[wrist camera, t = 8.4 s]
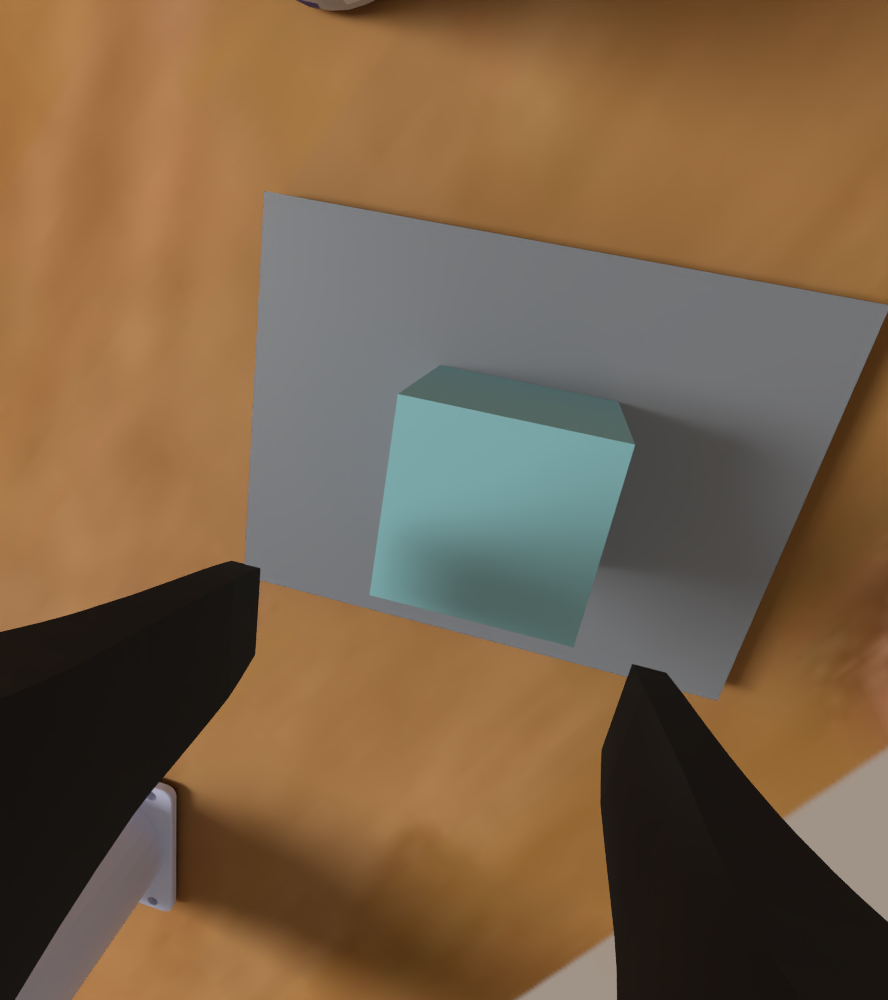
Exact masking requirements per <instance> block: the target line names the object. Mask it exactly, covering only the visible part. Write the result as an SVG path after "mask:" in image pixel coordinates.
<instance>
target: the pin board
mask: <svg viewBox="0 0 888 1000" xmlns="http://www.w3.org/2000/svg"><path fill="white" fill-rule="evenodd" d="M887 312H888V305H885V304H880V303H874V302H869V301H863V300H858V299H852V298H847V297H841V296H836V295H830V294H825V293H819V292H814V291H808V290H803V289H797V288H792V287H786V286H781V285H775V284H770V283H765V282H759V281H754V280H748V279H743V278H737V277H732V276H726V275H721V274H715V273H710V272H704V271H699V270H693V269H688V268H682V267H677V266H671V265H666V264H660V263H655V262H649V261H644V260H638V259H633V258H628V257H622V256H617V255H611V254H606V253H600V252H595V251H589V250H584V249H578V248H573V247H567V246H562V245H556V244H551V243H545V242H540V241H534V240H529V239H523V238H518V237H512V236H507V235H502V234H496V233H491V232H485V231H480V230H474V229H469V228H463V227H458V226H452V225H447V224H441V223H436V222H430V221H425V220H419V219H414V218H408V217H403V216H397V215H392V214H386V213H381V212H376V211H370V210H365V209H359V208H354V207H348V206H343V205H337V204H332V203H326V202H321V201H315V200H310V199H304V198H299V197H293V196H288V195H282V194H277V193H271V192H266V191H264V207H263V226H262V245H261V264H260V283H259V302H258V321H257V340H256V359H255V378H254V397H253V416H252V434H251V453H250V472H249V491H248V510H247V529H246V548H245V564H246V565H250V566H254V567H258V568H260V580H262V581H265V582H269V583H273V584H277V585H280V586H284V587H288V588H292V589H296V590H299V591H303V592H307V593H311V594H315V595H318V596H322V597H326V598H330V599H334V600H337V601H341V602H345V603H349V604H352V605H356V606H360V607H364V608H368V609H371V610H375V611H379V612H383V613H387V614H390V615H394V616H398V617H402V618H406V619H409V620H413V621H417V622H421V623H424V624H428V625H432V626H436V627H440V628H443V629H447V630H451V631H455V632H459V633H462V634H466V635H470V636H474V637H478V638H481V639H485V640H489V641H493V642H497V643H500V644H504V645H508V646H512V647H515V648H519V649H523V650H527V651H531V652H534V653H538V654H542V655H546V656H550V657H553V658H557V659H561V660H565V661H569V662H572V663H576V664H580V665H584V666H587V667H591V668H595V669H599V670H603V671H606V672H610V673H614V674H618V675H622V676H625V677H628V674H629V671H630V668H631V666H632V664H635V665H639V666H643V667H646V668H650V669H654V670H658V671H662V672H666V673H667V674H668V675H669V677H670V678H671V679H672V680H673V682H674V683H675V684H676V686H677V687H678V688H679V690H680V691H682V692H686V693H690V694H694V695H697V696H701V697H705V698H709V699H713V700H716V701H717V700H718V698H719V696H720V693H721V691H722V689H723V686H724V684H725V682H726V680H727V677H728V675H729V673H730V670H731V668H732V666H733V664H734V661H735V659H736V657H737V654H738V652H739V650H740V648H741V645H742V643H743V641H744V639H745V636H746V634H747V632H748V629H749V627H750V625H751V623H752V620H753V618H754V616H755V613H756V611H757V609H758V607H759V604H760V602H761V600H762V597H763V595H764V593H765V591H766V588H767V586H768V584H769V581H770V579H771V577H772V575H773V572H774V570H775V568H776V565H777V563H778V561H779V559H780V556H781V554H782V552H783V549H784V547H785V545H786V543H787V540H788V538H789V536H790V534H791V531H792V529H793V527H794V524H795V522H796V520H797V518H798V515H799V513H800V511H801V508H802V506H803V504H804V502H805V499H806V497H807V495H808V492H809V490H810V488H811V486H812V483H813V481H814V479H815V476H816V474H817V472H818V470H819V467H820V465H821V463H822V460H823V458H824V456H825V454H826V451H827V449H828V447H829V444H830V442H831V440H832V438H833V435H834V433H835V431H836V428H837V426H838V424H839V422H840V419H841V417H842V415H843V413H844V410H845V408H846V406H847V403H848V401H849V399H850V397H851V394H852V392H853V390H854V387H855V385H856V383H857V381H858V378H859V376H860V374H861V371H862V369H863V367H864V365H865V362H866V360H867V358H868V355H869V353H870V351H871V349H872V346H873V344H874V342H875V339H876V337H877V335H878V333H879V330H880V328H881V326H882V323H883V321H884V319H885V317H886V314H887ZM439 365H443V366H448V367H452V368H457V369H462V370H467V371H472V372H477V373H482V374H486V375H491V376H496V377H501V378H506V379H511V380H516V381H520V382H525V383H530V384H535V385H540V386H545V387H550V388H554V389H559V390H564V391H569V392H574V393H579V394H584V395H588V396H593V397H598V398H603V399H608V400H613V401H618V402H619V405H620V407H621V410H622V412H623V415H624V417H625V420H626V423H627V425H628V428H629V430H630V433H631V435H632V438H633V440H634V443H635V447H634V450H633V453H632V457H631V460H630V463H629V467H628V470H627V473H626V477H625V480H624V483H623V486H622V490H621V493H620V496H619V500H618V503H617V506H616V510H615V513H614V516H613V519H612V523H611V526H610V529H609V533H608V536H607V539H606V542H605V546H604V549H603V552H602V556H601V559H600V562H599V566H598V569H597V572H596V575H595V579H594V582H593V585H592V589H591V592H590V595H589V599H588V602H587V605H586V608H585V612H584V615H583V618H582V622H581V625H580V628H579V632H578V635H577V638H576V641H575V645H574V647H570V646H566V645H562V644H558V643H554V642H550V641H546V640H542V639H539V638H535V637H531V636H527V635H523V634H519V633H515V632H511V631H507V630H504V629H500V628H496V627H492V626H488V625H484V624H480V623H476V622H472V621H468V620H465V619H461V618H457V617H453V616H449V615H445V614H441V613H437V612H433V611H429V610H426V609H422V608H418V607H414V606H410V605H406V604H402V603H398V602H394V601H391V600H387V599H383V598H379V597H375V596H371V595H370V588H371V581H372V574H373V567H374V560H375V553H376V545H377V538H378V531H379V524H380V517H381V510H382V503H383V496H384V489H385V482H386V474H387V467H388V460H389V453H390V446H391V439H392V432H393V425H394V418H395V411H396V403H397V396H398V393H400V392H401V391H403V390H404V389H406V388H407V387H409V386H410V385H412V384H413V383H414V382H416V381H417V380H419V379H420V378H422V377H423V376H425V375H426V374H428V373H429V372H430V371H432V370H433V369H435V368H436V367H438V366H439Z"/></svg>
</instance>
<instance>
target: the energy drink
mask: <svg viewBox="0 0 888 1000" xmlns="http://www.w3.org/2000/svg"><path fill="white" fill-rule="evenodd" d="M296 1H298V2H301V3H303V4H305V5H307V6H309V7H313V8H318V9H323V10H328V11H335V10H350V9H353V8H356V7H360V6H363V5H366V4H369V3H371V2H373V1H374V0H296Z"/></svg>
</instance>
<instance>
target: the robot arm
mask: <svg viewBox="0 0 888 1000" xmlns="http://www.w3.org/2000/svg"><path fill="white" fill-rule="evenodd" d="M259 584H260V568H258V567H254V566H250V565H246V564H242V563H238V562H234V561H229V562H225V563H222V564H218V565H215V566H212V567H209V568H206V569H203V570H201V571H198V572H195V573H192V574H189V575H187V576H184V577H181V578H178V579H176V580H173V581H170V582H167V583H164V584H162V585H159V586H156V587H153V588H150V589H148V590H145V591H142V592H139V593H136V594H133V595H131V596H127V597H124V598H121V599H118V600H115V601H112V602H109V603H105V604H102V605H99V606H96V607H93V608H90V609H87V610H83V611H80V612H77V613H74V614H70V615H67V616H63V617H60V618H56V619H52V620H48V621H45V622H41V623H37V624H32V625H28V626H24V627H20V628H16V629H12V630H7V631H3V632H0V1000H72V998H73V997H74V996H75V994H76V993H77V991H78V990H79V988H80V987H81V985H82V984H83V982H84V981H85V980H86V978H87V977H88V975H89V974H90V972H91V971H92V969H93V968H94V966H95V965H96V964H97V962H98V961H99V959H100V958H101V956H102V955H103V953H104V952H105V950H106V949H107V948H108V946H109V945H110V943H111V942H112V940H113V939H114V937H115V936H116V934H117V933H118V932H119V930H120V929H121V927H122V926H123V924H124V923H125V921H126V920H127V919H128V917H129V916H130V914H131V913H132V911H133V910H134V908H135V907H136V905H137V904H138V903H142V904H144V905H147V906H150V907H153V908H156V909H159V910H162V911H169V910H171V909H172V907H173V906H174V904H175V902H176V792H175V790H174V789H173V788H172V787H171V786H169V785H167V784H164V783H160V781H161V779H162V778H163V777H164V776H165V775H166V773H167V772H168V771H169V770H170V769H171V767H172V766H173V765H174V764H175V762H176V761H177V760H178V759H179V758H180V756H181V755H182V754H183V753H184V752H185V750H186V749H187V748H188V747H189V746H190V744H191V743H192V742H193V741H194V739H195V738H196V737H197V736H198V735H199V733H200V732H201V731H202V730H203V729H204V727H205V726H206V725H207V724H208V722H209V721H210V720H211V719H212V718H213V716H214V715H215V714H216V713H217V711H218V710H219V709H220V708H221V706H222V705H223V704H224V703H225V701H226V700H227V699H228V698H229V696H230V694H231V693H232V691H233V690H234V688H235V687H236V685H237V684H238V682H239V680H240V679H241V677H242V676H243V674H244V672H245V671H246V669H247V667H248V666H249V664H250V662H251V661H252V659H253V657H254V656H255V648H256V632H257V616H258V600H259ZM601 814H602V824H603V834H604V844H605V853H606V862H607V872H608V881H609V890H610V899H611V909H612V918H613V927H614V936H615V951H616V965H617V1000H888V922H887V921H886V920H885V919H884V918H883V917H882V916H881V915H879V914H878V913H877V912H876V911H875V910H874V909H873V908H872V907H871V906H869V905H868V904H867V903H866V902H865V901H864V900H863V899H862V898H861V897H860V896H859V895H857V894H856V893H855V892H854V891H853V890H852V889H851V888H850V887H849V886H848V885H847V884H846V883H845V882H844V881H843V880H842V879H841V878H840V877H838V875H836V874H835V873H834V872H833V871H832V870H831V869H830V868H829V867H828V865H827V864H825V862H824V861H823V860H822V859H821V858H820V857H819V856H818V855H817V854H816V853H815V852H814V851H813V850H812V849H811V848H810V847H809V846H808V845H807V844H806V843H805V842H804V841H803V840H802V839H801V838H800V837H799V836H798V835H797V834H796V833H795V832H794V831H793V830H792V829H791V827H789V825H788V824H787V823H786V822H785V821H784V820H783V819H782V818H781V817H780V815H779V814H778V813H777V812H776V811H775V810H774V809H773V807H772V806H771V805H770V804H769V803H768V802H767V800H766V799H765V798H764V797H763V796H762V795H761V794H760V792H759V791H758V790H757V789H756V788H755V787H754V785H753V784H752V783H751V782H750V781H749V779H748V778H747V777H746V776H745V775H744V773H743V772H742V771H741V770H740V768H739V767H738V766H737V765H736V764H735V762H734V761H733V760H732V759H731V757H730V756H729V755H728V753H727V752H726V751H725V750H724V748H723V747H722V746H721V744H720V743H719V742H718V741H717V739H716V738H715V737H714V735H713V734H712V733H711V731H710V730H709V729H708V727H707V726H706V725H705V723H704V722H703V721H702V719H701V718H700V717H699V715H698V714H697V713H696V711H695V710H694V709H693V707H692V706H691V704H690V703H689V702H688V700H687V699H686V698H685V696H684V695H683V694H682V692H681V691H680V690H679V688H678V687H677V686H676V684H675V683H674V682H673V680H672V679H671V678H670V677H669V675H668V674H667V673H666V672H662V671H658V670H654V669H650V668H646V667H643V666H639V665H635V664H632V666H631V668H630V671H629V674H628V677H627V680H626V683H625V685H624V688H623V691H622V694H621V697H620V700H619V702H618V705H617V708H616V711H615V714H614V716H613V719H612V722H611V725H610V728H609V731H608V733H607V736H606V739H605V742H604V745H603V748H602V755H601Z"/></svg>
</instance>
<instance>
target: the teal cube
mask: <svg viewBox="0 0 888 1000" xmlns="http://www.w3.org/2000/svg"><path fill="white" fill-rule="evenodd" d="M634 447H635V443H634V440H633V438H632V435H631V433H630V430H629V428H628V425H627V423H626V420H625V417H624V415H623V412H622V410H621V407H620V405H619V402H618V401H613V400H608V399H603V398H598V397H593V396H588V395H584V394H579V393H574V392H569V391H564V390H559V389H554V388H550V387H545V386H540V385H535V384H530V383H525V382H520V381H516V380H511V379H506V378H501V377H496V376H491V375H486V374H482V373H477V372H472V371H467V370H462V369H457V368H452V367H448V366H443V365H439V366H438V367H436V368H435V369H433V370H432V371H430V372H429V373H428V374H426V375H425V376H423V377H422V378H420V379H419V380H417V381H416V382H414V383H413V384H412V385H410V386H409V387H407V388H406V389H404V390H403V391H401V392H400V393H398V396H397V403H396V411H395V418H394V425H393V432H392V439H391V446H390V453H389V460H388V467H387V474H386V482H385V489H384V496H383V503H382V510H381V517H380V524H379V531H378V538H377V545H376V553H375V560H374V567H373V574H372V581H371V588H370V595H371V596H375V597H379V598H383V599H387V600H391V601H394V602H398V603H402V604H406V605H410V606H414V607H418V608H422V609H426V610H429V611H433V612H437V613H441V614H445V615H449V616H453V617H457V618H461V619H465V620H468V621H472V622H476V623H480V624H484V625H488V626H492V627H496V628H500V629H504V630H507V631H511V632H515V633H519V634H523V635H527V636H531V637H535V638H539V639H542V640H546V641H550V642H554V643H558V644H562V645H566V646H570V647H574V645H575V641H576V638H577V635H578V632H579V628H580V625H581V622H582V618H583V615H584V612H585V608H586V605H587V602H588V599H589V595H590V592H591V589H592V585H593V582H594V579H595V575H596V572H597V569H598V566H599V562H600V559H601V556H602V552H603V549H604V546H605V542H606V539H607V536H608V533H609V529H610V526H611V523H612V519H613V516H614V513H615V510H616V506H617V503H618V500H619V496H620V493H621V490H622V486H623V483H624V480H625V477H626V473H627V470H628V467H629V463H630V460H631V457H632V453H633V450H634Z"/></svg>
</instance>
